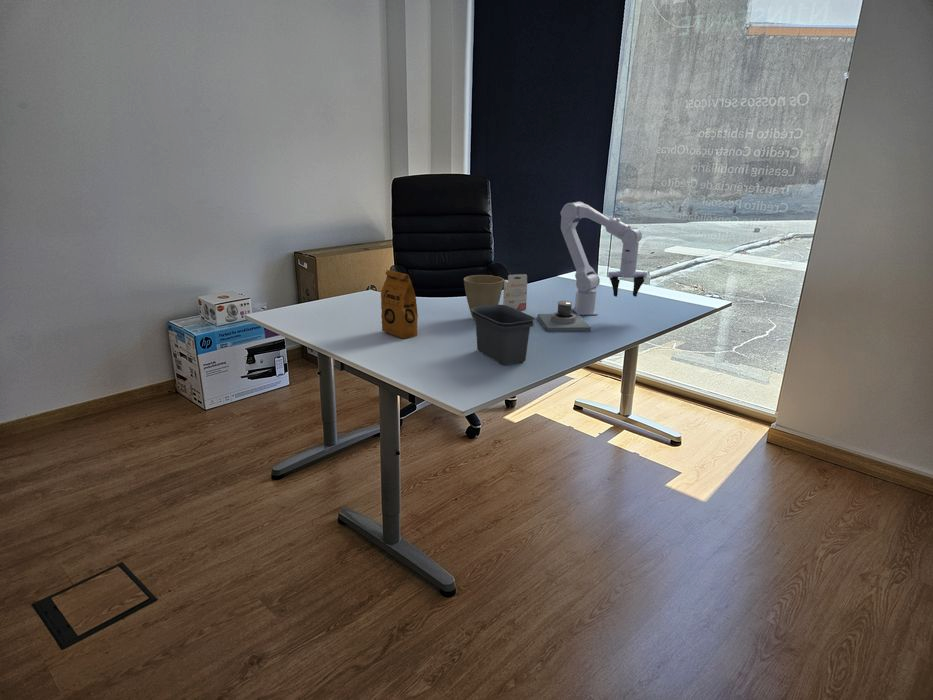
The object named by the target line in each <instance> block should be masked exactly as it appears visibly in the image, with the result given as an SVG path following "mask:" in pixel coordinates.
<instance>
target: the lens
mask: <svg viewBox="0 0 933 700" xmlns="http://www.w3.org/2000/svg"><path fill="white" fill-rule="evenodd" d="M572 308H573V302H572V301H569V300H559V301H557V312H558V313H557V316H558V317H562V318H569V317H571V313H572Z"/></svg>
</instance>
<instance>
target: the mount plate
mask: <svg viewBox="0 0 933 700" xmlns="http://www.w3.org/2000/svg"><path fill="white" fill-rule="evenodd" d="M557 313H558V311H557V312H553V313H537V319H538V320H539V321H541V322H540V323H541V325H542V326H543V327H544V329H545V328H546V329H545V330H546V331H547V332H548V331H553V332H591V331H592V327H591V326H590V324H589V323H588V322H587V321H586V320H584V318H583V317H582V315H579V314H577V313H572V312H571V317H569V318H562V317H558V316H557Z"/></svg>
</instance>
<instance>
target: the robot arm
mask: <svg viewBox="0 0 933 700" xmlns="http://www.w3.org/2000/svg"><path fill="white" fill-rule="evenodd" d="M559 214H560V216H561V218H560V230H561V231H560V232H561V233H562V236H563V238H564V241H565V244H566V246H567V249H568V252H569V255H570V257H571V260H572V262H573V266H574V268H575V270H576V271H575V274H574V277H575V281H576V282H575V286H576V288H577V291H576V293H575V301H574V307H571V310H573V311H574V312H575V314H579V315H580V316H585V315H586V316H591V315H592V316H596V315H598V312H597V311H595V310H596V309H595V307H596V301H597V300H596V298H597V287H599V285H600V282H601V280H600V279H601V278H600V276H599V275H598V274H597V273H596V272H595V269H594V268H593V267H592V266H591V265H590V264H589V261H588V258H587V256H586V253H585V250H584V247H583V245H582V242H581V239H580V237H579V235H578V233H577V229H576V227H577V225H578V224H579V221H581V220H582V219H589V220H591V221H593V222H595V223H597V224H598V225H601V226H603V227H605V231H606V233H608V234H610V235H612V236H613V237H616V238H618V239H619V240H621V243H622V249H621V250H622V252H621V259H620V268H619V270H617V271H607V277H608V278H609V280H610V284H611V287H612V291H613V292H612V293H613V296H614V297H615V298H618V292H619V284H620V281H621V280H620V279H621V278H625V279H627V278H628V279H629V278H630V279H631V278H633V288H632V290H633V291H632V296H633V297H635V298H637V296H638V293H639V290H640V288H641V287H642V286H643V284H644V282H645V279H647V277H648V273H647V272H645V271H636V270H637V262H638V254H639V253H638V252H639V242H640V241H641V240H642V238H643V236H642V232H641V230H640V229H638V228H637V227H632V224H631V225H630V224H626V223H625V222H622V221H621V220H622V219H621V218H619V217H617V218H615V217H613V218H609V217H608V216H605V215H604V214H602V213H601V212H600V211H598V210H596V209H595V208H593V207H592V206H590V205H589V204H587V203H584V202H582V201H579V200H578V201H575V202H568V203H566V204H564V205H563V207H562V209H561V211H560V213H559ZM619 278H620V279H619Z"/></svg>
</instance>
